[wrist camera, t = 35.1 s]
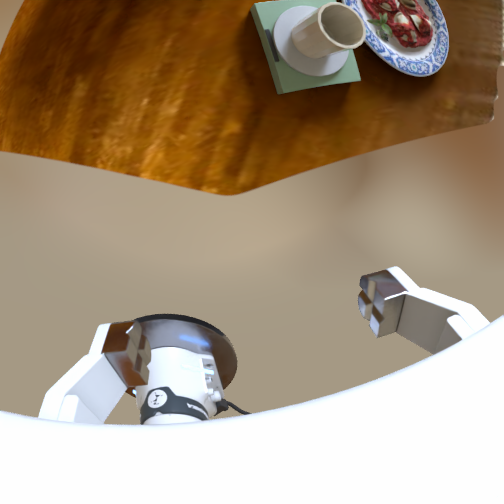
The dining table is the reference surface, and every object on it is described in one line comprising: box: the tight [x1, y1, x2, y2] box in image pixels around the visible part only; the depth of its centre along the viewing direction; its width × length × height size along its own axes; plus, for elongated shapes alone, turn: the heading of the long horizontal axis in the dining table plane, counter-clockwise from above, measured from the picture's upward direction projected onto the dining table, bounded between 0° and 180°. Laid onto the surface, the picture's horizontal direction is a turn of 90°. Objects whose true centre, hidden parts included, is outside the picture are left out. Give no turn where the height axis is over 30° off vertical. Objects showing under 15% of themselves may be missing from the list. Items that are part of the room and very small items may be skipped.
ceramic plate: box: [342, 0, 449, 77], centre depth 29 cm, size 26×26×3 cm
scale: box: [250, 0, 361, 94], centre depth 30 cm, size 14×13×3 cm
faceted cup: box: [291, 2, 366, 59], centre depth 25 cm, size 6×6×8 cm
